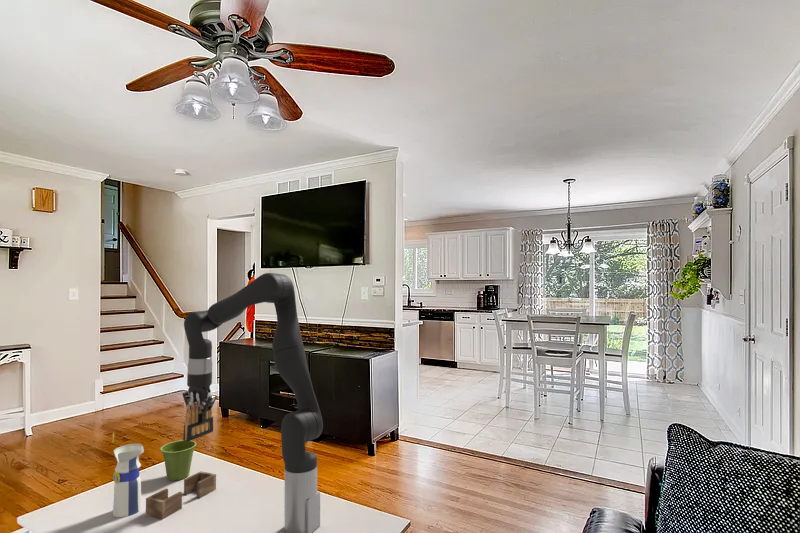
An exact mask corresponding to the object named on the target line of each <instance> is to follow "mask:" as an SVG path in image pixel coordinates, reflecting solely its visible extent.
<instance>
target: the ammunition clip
mask: <svg viewBox="0 0 800 533" xmlns="http://www.w3.org/2000/svg"><path fill="white" fill-rule="evenodd" d="M202 403H203V402H202ZM202 409H203V406H202ZM198 414H199V412H198V406H197V401H196V405H194V402H192V405H191V410H190V402H189V403H188V405H187V407H186V412H185V422H184V423H185V424H184V425H183V441H187V442H188V441H194V440H195V439H198V438H200V437H204V436H205V435H208V434H211V433H213V432H214V416H213V407H212V408H211V410H210V411H207V412H206V421H205V423H204V424H202V425H199V424H198Z"/></svg>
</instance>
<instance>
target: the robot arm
mask: <svg viewBox="0 0 800 533" xmlns="http://www.w3.org/2000/svg"><path fill="white" fill-rule="evenodd" d="M293 283H294V282H293V280H292V279H291V278H290V277H289V276H288V275H286V274H282V273H274V272H266V273H263V274H261V275H259V276H258V277H256V278H255V279H254V280H252V281H251V282H249V283H248V284H246V285H245V286H244V287H243V288H241V289H239V290H238V291H237V292H235V293H234V294H232V295H229V296H228V297H225V298H224V299H220V300H218V301H216V302H215V303H213V304H211V305H210V306H209V308H208V310H197V311H191V312H189V313H187V315H186V316H185V318H184V321H183V328H184V333H185V335H186V340H187V344H188V361H187V362H188V363H187V378H186V379H187V380H186V382H187V383H186V385H187V387H188V389H187V391H185V392H182V397H183V401H184V404H185V406H186V408H187V405H188V403H189V404H190V411H191V405H192V402H194V405H196V401H197V406H198V412H199V414H198V424H199V425H202V424H204V423H205V421H206V412H207V411H210V410H211V408H212V409H213V406H214V404H215V402H216V401H217V395H216V394H214V395H213V394H212V391H211V385H213V384H212V383H213V358H212V356H213V355H212V354H213V353H212V352H213V350H212V349H213V344H212V341H211V339H208V338H204V336H203V333H205V332H210V331H213V330H216V329H217V328H219V327H220V326H222V325H223V324H225V323H227V322H229V321H231V320H234V319H235V318H238V317H239V316H240V315H241V314H243V313H244V312H245V310H246V309H248V308H249V307H251V306H254V305H258V304H262V303H267V304H273V305H274V308H275V313H276V314H275V315H276V328H275V331H274V335H273V338H272V346H271V347H272V349H271V350H272V353H273V354H272V356H273V360H274V365H275V369H276V371H277V373H278V374H279V376H280V377H281V378H282V380H283V381H284V382H285V383H286V384H287V385H288V386H289V388H290V389H291V391H292V392H293V394H294V397H295V399H296V402H297V408H298V409H297V410H296V411H292V412H289V413H287V414H286V415H285V416H284V417H283V418H282V421H281V425H280V426H281V427H280V437H281V439H280V441H281V455H282V459H283V463H284V532H285V533H314V531H316V529H318V528H319V527H320V526H321V492H320V491H318V456H317V454H316V453H314V452H312V451H307V450H306V443H308V442H311V441H314V440H316V439H317V438H319V437H320V436H321V435H322V432H323V429H324V422H323V417H322V413H321V409H320V406H319V403H318V399H317V396H316V394H315V391H314V387H313V382H312V379H311V378H312V377H311V374H310V371H309V365H308V361H307V355H306V351H305V346H304V343H303V342H304V341H303V339H302V338H303V337H302V333H301V328H300V324H299V323H300V322H299V319H298V312H297V311H298V310H297V303H296V293H295V292H296V291H295V287H294V284H293ZM202 402H203V403H202ZM202 406H203V409H202Z"/></svg>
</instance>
